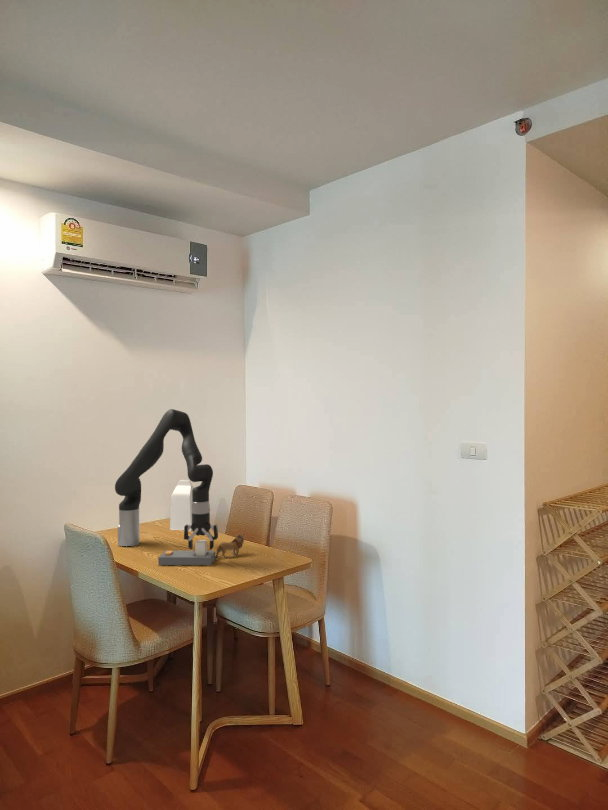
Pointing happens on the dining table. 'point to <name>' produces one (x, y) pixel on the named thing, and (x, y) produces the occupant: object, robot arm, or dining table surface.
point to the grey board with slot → (185, 558)
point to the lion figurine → (231, 546)
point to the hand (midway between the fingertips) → (201, 549)
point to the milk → (181, 505)
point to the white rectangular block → (201, 547)
